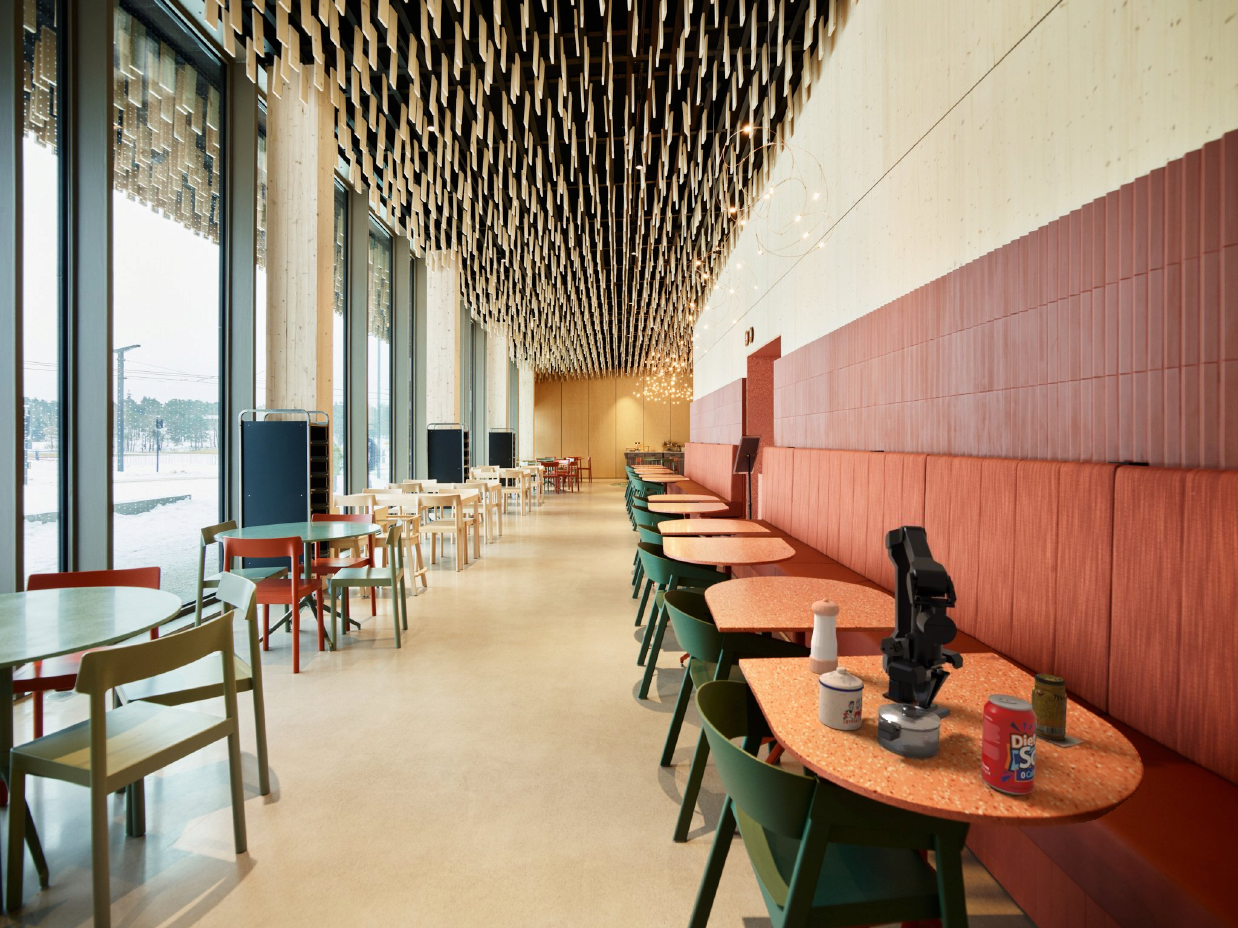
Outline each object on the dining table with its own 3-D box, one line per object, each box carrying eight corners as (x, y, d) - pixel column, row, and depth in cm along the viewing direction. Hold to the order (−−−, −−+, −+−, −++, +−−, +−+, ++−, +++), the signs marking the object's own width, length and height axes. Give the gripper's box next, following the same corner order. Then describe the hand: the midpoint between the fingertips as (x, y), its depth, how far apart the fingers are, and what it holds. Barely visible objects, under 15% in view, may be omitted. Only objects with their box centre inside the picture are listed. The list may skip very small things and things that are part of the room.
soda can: (977, 770, 113) (980, 689, 113) (1028, 780, 110) (1031, 696, 110) (984, 792, 106) (987, 704, 106) (1038, 803, 103) (1042, 713, 103)
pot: (917, 719, 135) (918, 692, 135) (970, 739, 126) (971, 710, 126) (857, 744, 123) (858, 715, 122) (911, 768, 114) (912, 736, 113)
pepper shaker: (811, 663, 170) (813, 594, 170) (839, 668, 167) (841, 597, 166) (806, 671, 163) (809, 599, 163) (835, 677, 160) (838, 602, 160)
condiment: (1040, 725, 134) (1043, 669, 134) (1084, 742, 127) (1086, 683, 126) (1019, 730, 131) (1022, 674, 131) (1063, 748, 124) (1065, 688, 123)
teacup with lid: (849, 735, 126) (851, 678, 126) (809, 720, 133) (811, 666, 133) (876, 719, 135) (878, 666, 134) (837, 706, 141) (838, 655, 141)
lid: (906, 699, 133) (906, 689, 132) (960, 718, 123) (960, 707, 123) (863, 716, 124) (864, 705, 124) (918, 738, 115) (918, 726, 114)
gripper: (913, 614, 138) (911, 684, 138) (864, 627, 127) (862, 702, 127) (965, 626, 129) (963, 701, 129) (916, 641, 118) (914, 723, 118)
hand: (924, 706), depth 126 cm, fingers closed on lid, 2 cm apart
